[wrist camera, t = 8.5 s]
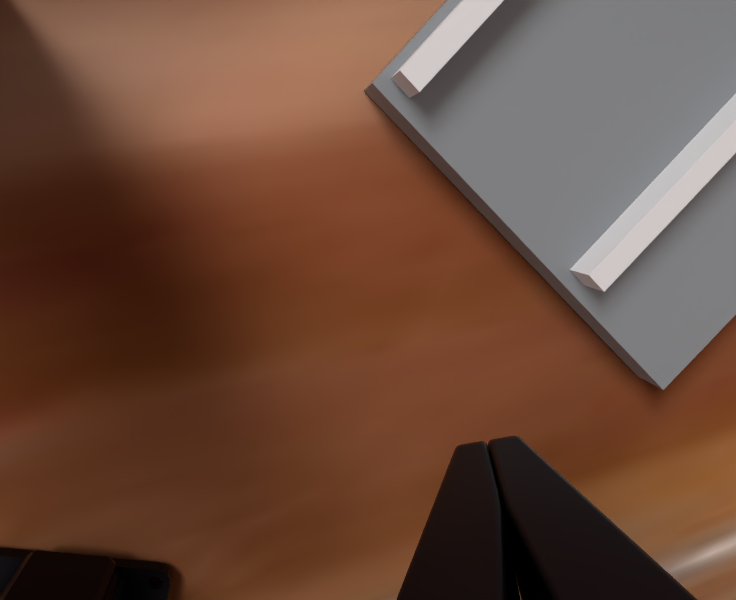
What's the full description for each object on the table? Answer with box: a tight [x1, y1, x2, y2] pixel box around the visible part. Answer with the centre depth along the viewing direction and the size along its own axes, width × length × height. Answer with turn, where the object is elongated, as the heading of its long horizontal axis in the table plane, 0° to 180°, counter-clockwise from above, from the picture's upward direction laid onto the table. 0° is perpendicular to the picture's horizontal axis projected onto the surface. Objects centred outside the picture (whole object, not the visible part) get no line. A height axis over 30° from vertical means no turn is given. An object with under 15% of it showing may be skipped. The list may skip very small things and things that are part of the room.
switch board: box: [364, 0, 736, 390], centre depth 19 cm, size 18×15×3 cm
